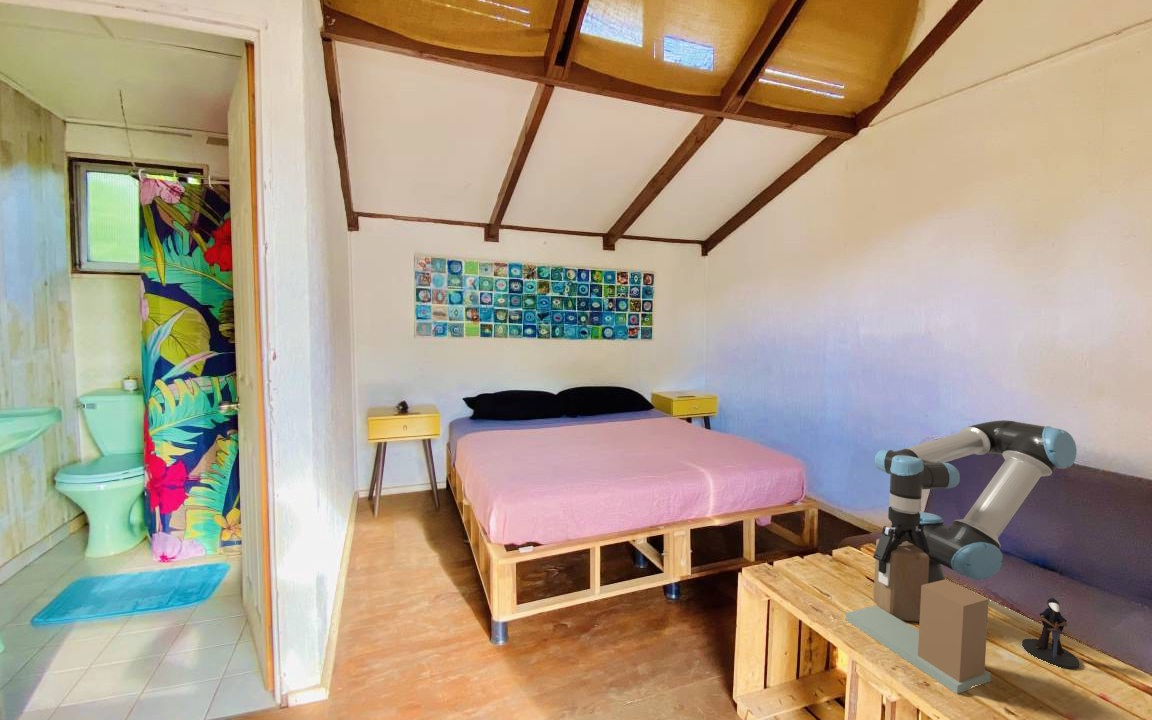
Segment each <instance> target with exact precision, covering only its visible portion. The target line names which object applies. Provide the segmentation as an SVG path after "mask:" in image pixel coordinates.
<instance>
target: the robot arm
mask: <svg viewBox="0 0 1152 720" xmlns="http://www.w3.org/2000/svg"><path fill="white" fill-rule="evenodd" d="M1077 453H1078V451H1077V445H1076V441H1075V439H1074V437H1073V436H1072V435H1071V434H1070V433H1069V432H1068V431H1066V430H1064V429H1061V428H1057V427H1052V426H1049V425H1048V426H1047V425H1045V426H1044V425H1038V424H1033V423H1026V422H1020V421H1019V422H1018V421H1015V420H1014V421H1013V420H1004V419H1003V420H993V421H987V422H982V423H978V424H977V423H976V424H974V425H969V426H966V427H964V428H962V429H961V430H960V431H959V432H957V433H954V434H950V435H947V436H944V437H940V438H936V439H933V440H930V441H925V442H924V443H920V444H916V445H913V446H910V447H907V448H903V449H898V450H895V451H894V450H893V449H880V450H879V451H878V452H876V453H875V456H874V464H875V467H876V468H877V469H878V470H879V471H881V472H884V473H886V474H887V475H890V478H889V480H890V483H889V500H888V502H889V503H888V505H889V507H888V512H887V513H888V514H887V518H888V520H889V521H890V523H891V525H890V527H888V526H885V525H883V527H882V529H881V530H882V532H881V535H880V538H879V539H880V540H879V543H878V545H877V548H876V547H875V550H874V553H873V555H872V558H873V559H877V560H879V569H878V570H879V578H878V581H879V582H881V583H883V584H885V585H887V586H889V582H890V565H891V563H889V560H890V557H891V552H892V551H893V550H896V549H897V547H898V545H901V544H902V542H905V541H908V542H909V543H911V544H914V545H915V546H917V547H918V548H920V549H921V550H922V551H924V552H925V553H926V554H927V555H928V556H929V575H928V583H932V582H937V581H941V580H945V579H946V577H945V574H944V571H943V567H942V566H944V567H947V568H948V569H950V570H952V571H954V572H955V573H957V574H958V575H961V576H963V577H964V576H965V577H966V578H969V579H972V580H975V581H982V580H988V579H991V578H992V577H993V576H995V575H996V574H997V573H998V572H999V571H1000V569H1001V568H1002V564H1003V562H1002V561H1003V558H1004V557H1003V553H1002V551H1001V550H1000V548H1001V546H1002V545H1001V543H1000V541H999V537H1000V536H1001V534H1002V533H1003V532H1004V530H1005V529H1006V527H1007V526H1008V524H1009V523H1010V521H1011V520H1012V518H1013V516H1014V515H1015V514H1017V513H1016V512H1017V511H1018V509H1019V508H1020V507H1021V505H1022V504H1023V503H1024V501H1025V500H1026V498H1027V497H1028V496H1029V494H1030V493H1031V491H1032V490H1033V488H1034V487H1035V486H1036V484H1037V483H1038V481H1039V480H1040V478H1041V477H1049V476H1051V475H1052V474H1053V473H1054V471H1055V469H1056V468H1057V469H1058V470H1059V469H1060V470H1061V469H1068V468H1070V467H1072V466H1073V464H1074V463H1075V461H1076V458H1077ZM985 454H995V455H996V454H997V455H1002V457H1003V459H1004V461H1003V463H1002V464H1001V466H1000V467H999V468H998V470H997V471H996V473H995V474H994V475H993V477H992V478H991V479H990V481H989V483H988V484H987V485H986V487H985V488H984V489H983V491H982V492H981V493H980V495H979V497H978V498H977V499H976V501H975V502H974V504H973V505H972V507H971V508H970V509H969V511H968V512H967V513H966V514H965V516H964V518H962V519H955V520H953V522H952V523H951V525H949V526H947V525H945V524H944V519H943V518H942V516H939V515H937V514H934V513H930V512H923V511H921V510H922V495H923V494H922V493H923V490H946V489H953V488H955V487H957V485H959V484H960V481H961V479H960V478H961V476H960V471H959V470H958V469H957V468H956V467H955V465H953V464H951V463H948V462H951V461H954V460H957V459H961V458H964V457H967V456H971V455H977V456H978V455H979V456H981V455H982V456H983V455H985ZM885 557H886V558H885Z"/></svg>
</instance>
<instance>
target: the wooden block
mask: <svg viewBox="0 0 1152 720" xmlns="http://www.w3.org/2000/svg"><path fill="white" fill-rule="evenodd" d="M879 540H880V538H877V539H876V543H875V549H876V548H877V545H878V543H879ZM885 558H886V557H885ZM874 559H875V558H874ZM874 562H875V564H874V579H873V580H874V581H873V582H874V583H873V600H874V603H875V604H876V606H877V605H878V607H879V608H881V609H883V610H885V611H886V612H888V613H890V614H891V615H893V616H895V617H896V618H898V619H900V620H901V621H907V622H915V623H920V604H921V585H924V584H928V575H929V556H928V555H927V554H926V553H925V552H924V551H922V550H921V549H920V548H918V547H917V546H915V545H914V544H911V543H909V542H908V541H905V542H902V544H901V545H898V547H897V549H896V550H893V551H892V552H891V557H890V560H889V563H891V565H890V582H889V586H887V585H885V584H883V583H881V582H879V581H878V578H879V570H878V569H879V560H877V559H875V560H874Z"/></svg>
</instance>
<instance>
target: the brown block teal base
mask: <svg viewBox="0 0 1152 720" xmlns="http://www.w3.org/2000/svg"><path fill="white" fill-rule="evenodd" d="M989 601H990V599H989V598H987V597H985V596H983V595H981V594H979V593H977V592H975V591H973V590H970V589H967V588H965V586H961V585H959V584H957V583H955V582H953V581H950V580H948V579H946V578H945V580H941V581H937V582H932V583H928V584H924V585H921V604H920V622H918V623H919V624H918V625H919V627H918V629H916V628H915V627H913V626H912V625H910V624H908V623H907V622H905V621H904V620H900V619H898V618H896V617H895V616H893V615H891V614H890V613H888V612H886V611H885V610H883V609H881V608H880V607H879V606H877V605H872V606H869V607H864V608H861V609H856V610H853V611H848V612H845V620H846V621H847V622H848V623H850V624H852V625H853V626H855V627H856V628H857V629H859V631H862V632H863V633H865V634H867V635H868V636H870V637H871V638H872V639H874V640H875V641H877V642H879V643H880V644H881V645H883V646H884V647H886V648H887V649H889V650H890V651H891V652H893V653H894V654H896V655H898V656H899V657H901V658H902V659H904V660H905V661H906V662H908V663H910V664H912V665H913V666H914V667H915V668H917V669H918V670H920V671H922V672H923V673H925V674H926V675H928V676H929V677H930V678H932V679H934V680H935V681H937V682H938V683H940V684H941V685H943V686H944V687H946V688H947V689H949V690H951V691H952V692H953V693H955V694H956V695H958V694H961V693H963V692H965V691H968V689H969V690H971V689H970V688H971V687H972V686H975V685H979V684H983V685H985V684H987V682H988V683H990V682H991V680H992V679H991V678H992V677H991V676H992V673H991V672H989V671H988V670H986V668H985V667H986V653H987V638H988V637H987V636H988V635H987V634H988V633H987V632H988V617H989V603H990V602H989ZM984 683H985V684H984Z"/></svg>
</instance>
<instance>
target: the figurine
mask: <svg viewBox="0 0 1152 720" xmlns="http://www.w3.org/2000/svg"><path fill="white" fill-rule="evenodd" d="M1046 602H1047V608H1045V610H1044V611H1041V612H1040V613H1039V619H1040V620H1041V623H1042V629H1041V633H1040V635H1039V638H1030V637H1029V638H1024V639H1023V640H1022V641H1021V642H1022V644H1021V646H1023V647H1024V649H1025V650H1026V651H1027V652H1028V653H1027V654H1029V653H1030V654H1031V655H1030V654H1029V655H1030V656H1032V655H1033V656H1034V657H1033V656H1032V657H1033V658H1035V657H1037V658H1038V659H1041V660H1043V661H1046V662H1048V663H1050V664H1053V665H1056V666H1058V667H1057V668H1059V667H1061V668H1060V669H1063V670H1078V669H1079V668H1080V663H1081V662H1080V660H1079V658H1078V657H1077V656H1075V654H1073V653H1072V652H1070V651H1068V650H1067V649H1065V648H1063V646H1062V643H1061V635H1065V636H1066V635H1067V633H1066V632H1063V630H1064V628H1065V627H1067V626H1068V623H1067V619H1065V617H1064V616H1063V615H1062V614H1061V611H1060V602H1059V601H1058V600H1057V599H1055V598H1054V597H1050V598H1049V599H1047V601H1046ZM1050 635H1051V637H1052V638H1051V639H1052V640H1051V642H1049V641H1050ZM1023 647H1022V648H1023ZM1024 649H1023V650H1024ZM1025 650H1024V651H1025ZM1026 651H1025V652H1026ZM1037 658H1036V659H1037ZM1038 659H1037V660H1038ZM1043 661H1042V662H1043ZM1050 664H1049V665H1050ZM1053 665H1052V666H1053Z"/></svg>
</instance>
